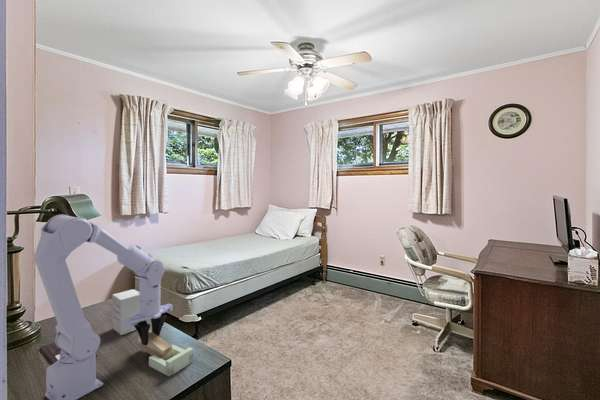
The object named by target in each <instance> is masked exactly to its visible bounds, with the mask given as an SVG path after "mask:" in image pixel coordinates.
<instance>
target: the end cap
mask: <svg viewBox="0 0 600 400" xmlns="http://www.w3.org/2000/svg"><path fill="white" fill-rule="evenodd" d="M170 345H171V344H170ZM171 346H172V351H171V358H170V359H168V360H166V361H165V360H163V359H161V358H159V357H157V356H155V355H150V356H149V357H148V367H150V368H153V369H154V370H156V371H158V372H159V373H161V374H164V375H165V376H166V377H171V376H173V375H174V374H176V373H177V372H179V371H181V370H182V369H185V367H187V366H189V365H190V364H192V363H193V362H194V348H193V347H187V348H186V349H184V348H182V347H179V346H177V345H175V344H172V345H171Z"/></svg>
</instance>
